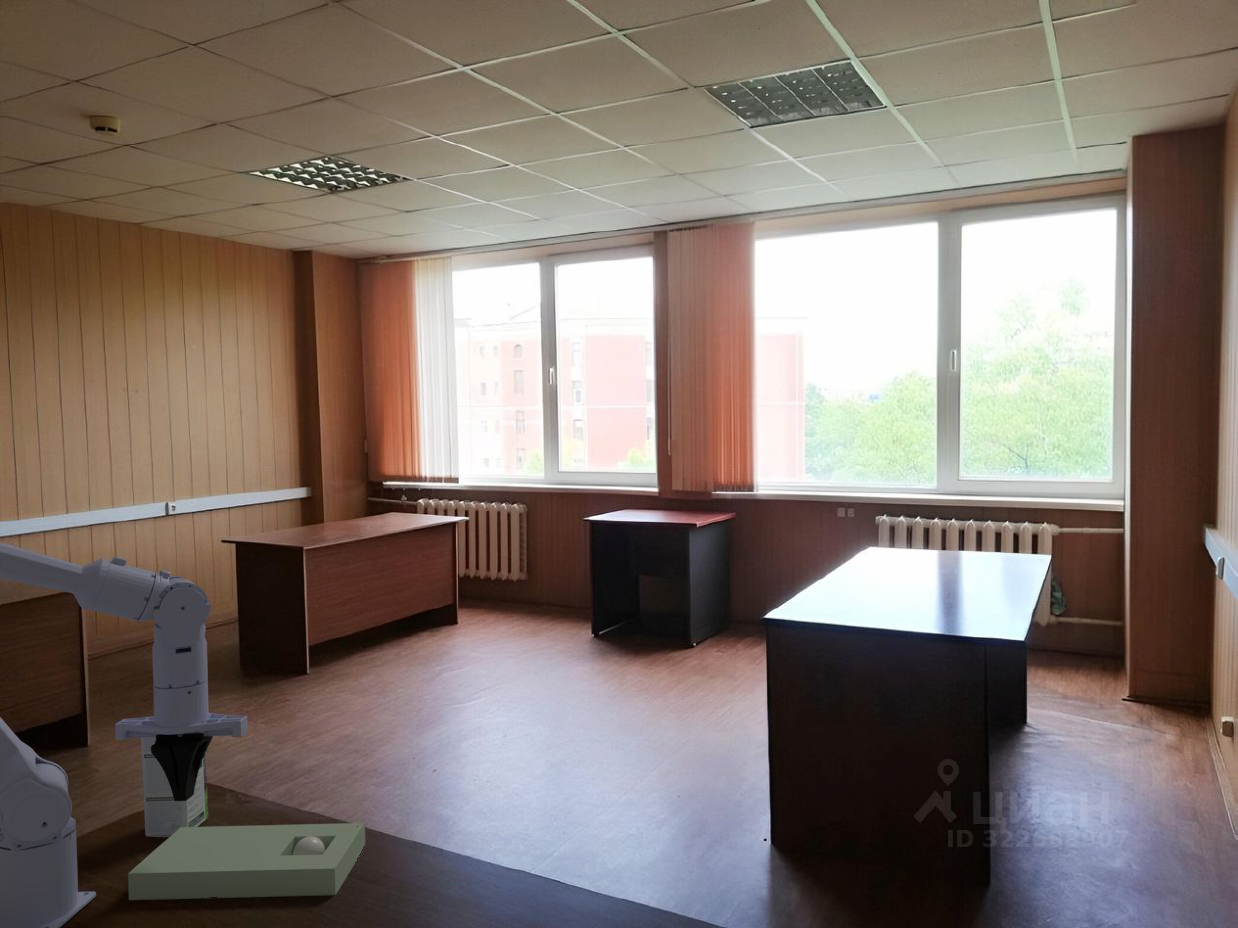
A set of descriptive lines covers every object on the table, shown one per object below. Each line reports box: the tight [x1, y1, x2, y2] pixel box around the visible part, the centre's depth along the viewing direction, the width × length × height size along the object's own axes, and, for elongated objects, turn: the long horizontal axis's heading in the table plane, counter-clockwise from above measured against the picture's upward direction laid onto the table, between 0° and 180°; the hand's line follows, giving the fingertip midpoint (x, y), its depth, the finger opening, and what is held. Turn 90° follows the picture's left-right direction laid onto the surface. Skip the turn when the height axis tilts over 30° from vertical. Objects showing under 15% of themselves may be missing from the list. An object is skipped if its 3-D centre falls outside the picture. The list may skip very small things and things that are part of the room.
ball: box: [293, 836, 325, 855], centre depth 104 cm, size 4×4×4 cm
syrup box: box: [140, 737, 209, 838], centre depth 117 cm, size 6×6×14 cm
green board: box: [127, 822, 366, 901], centre depth 104 cm, size 23×12×3 cm, turn 91°
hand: (184, 797), depth 103 cm, fingers closed
